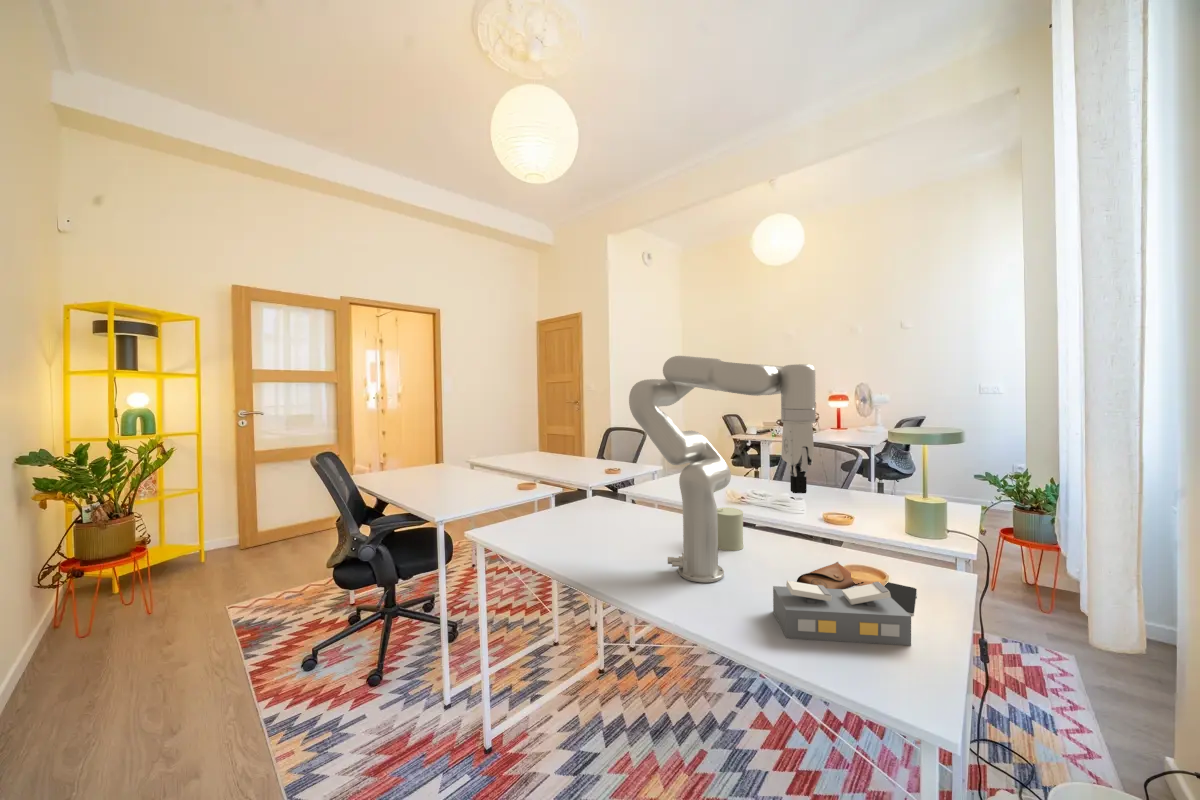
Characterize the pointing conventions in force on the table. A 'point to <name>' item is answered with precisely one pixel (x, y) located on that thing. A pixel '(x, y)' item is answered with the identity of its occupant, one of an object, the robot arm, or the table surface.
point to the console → (841, 618)
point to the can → (730, 529)
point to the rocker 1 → (808, 590)
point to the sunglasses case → (829, 577)
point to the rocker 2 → (866, 593)
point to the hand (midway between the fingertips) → (798, 492)
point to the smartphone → (903, 596)
